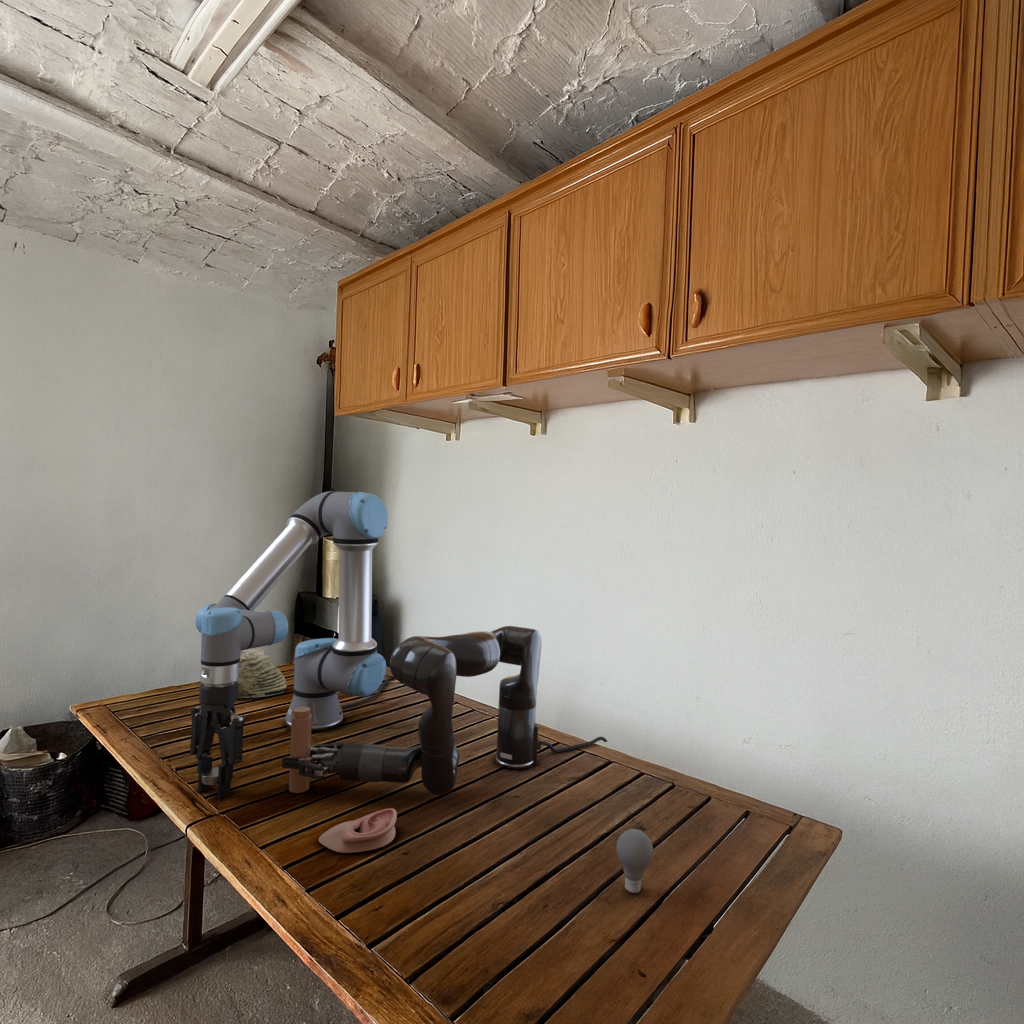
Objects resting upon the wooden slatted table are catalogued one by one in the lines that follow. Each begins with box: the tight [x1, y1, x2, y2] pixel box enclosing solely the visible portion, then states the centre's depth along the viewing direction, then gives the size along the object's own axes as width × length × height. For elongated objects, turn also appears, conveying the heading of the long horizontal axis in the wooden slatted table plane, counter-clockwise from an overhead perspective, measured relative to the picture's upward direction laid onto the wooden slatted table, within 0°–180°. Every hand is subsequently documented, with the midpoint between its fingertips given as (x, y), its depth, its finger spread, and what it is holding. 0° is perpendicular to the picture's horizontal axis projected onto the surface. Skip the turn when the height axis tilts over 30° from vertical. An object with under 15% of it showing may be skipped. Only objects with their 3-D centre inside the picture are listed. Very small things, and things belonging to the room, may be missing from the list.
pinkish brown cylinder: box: [288, 707, 312, 794], centre depth 137 cm, size 4×4×17 cm
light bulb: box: [615, 828, 654, 894], centre depth 106 cm, size 6×6×10 cm
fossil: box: [237, 647, 288, 699], centre depth 198 cm, size 9×18×15 cm, turn 132°
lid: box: [201, 766, 219, 786], centre depth 133 cm, size 5×5×2 cm
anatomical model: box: [318, 807, 398, 854], centre depth 118 cm, size 13×4×12 cm
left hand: (214, 792), depth 133 cm, fingers closed on lid, 5 cm apart
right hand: (287, 757), depth 137 cm, fingers closed on pinkish brown cylinder, 4 cm apart
